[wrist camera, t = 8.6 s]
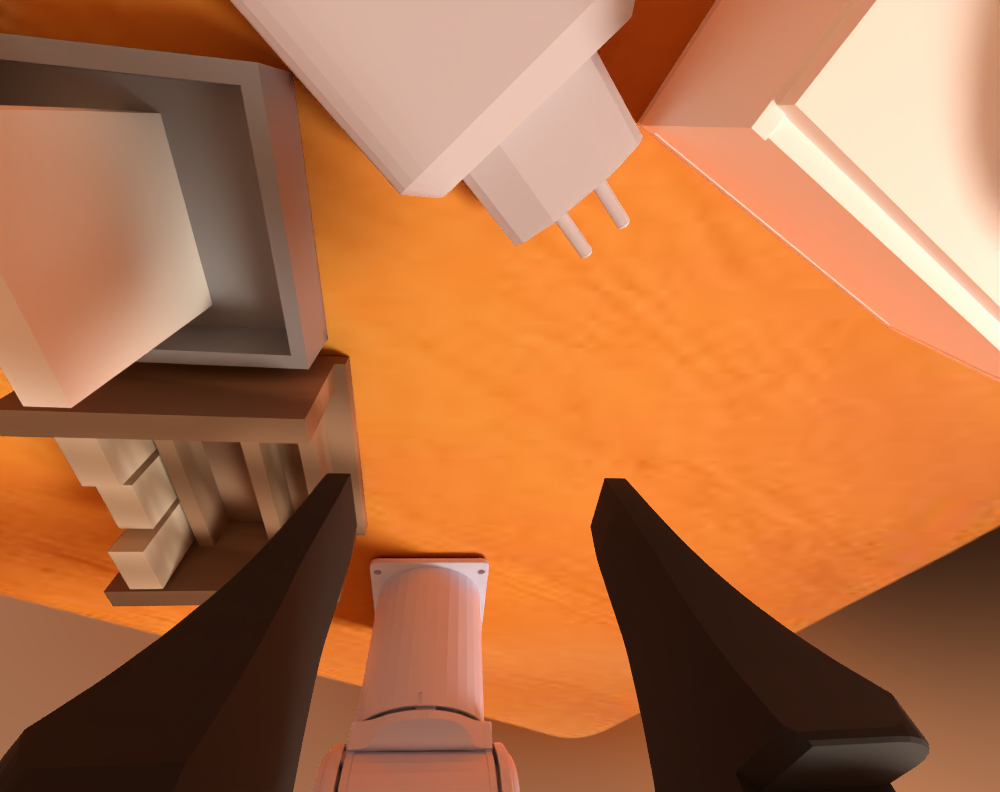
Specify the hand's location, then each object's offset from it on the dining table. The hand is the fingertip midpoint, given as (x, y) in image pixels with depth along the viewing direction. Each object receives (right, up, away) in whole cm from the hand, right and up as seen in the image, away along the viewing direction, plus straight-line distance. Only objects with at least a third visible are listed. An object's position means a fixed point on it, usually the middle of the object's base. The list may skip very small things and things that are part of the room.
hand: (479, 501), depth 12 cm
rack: (-13, 0, +11) cm, 17 cm away
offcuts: (-17, 0, +10) cm, 20 cm away
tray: (-12, +10, +5) cm, 17 cm away
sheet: (-12, +10, +4) cm, 16 cm away
